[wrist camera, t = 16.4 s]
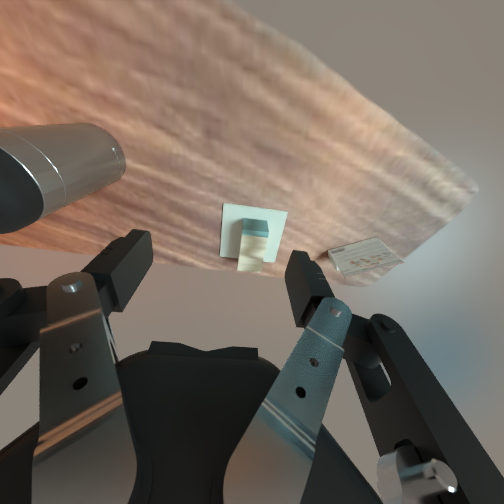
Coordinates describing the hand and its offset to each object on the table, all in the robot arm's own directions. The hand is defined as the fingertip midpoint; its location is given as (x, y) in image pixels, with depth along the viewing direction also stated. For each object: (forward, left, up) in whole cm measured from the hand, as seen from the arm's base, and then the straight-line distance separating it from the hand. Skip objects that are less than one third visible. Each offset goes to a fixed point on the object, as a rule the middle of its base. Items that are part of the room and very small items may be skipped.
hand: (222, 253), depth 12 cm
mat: (+4, -15, -29) cm, 33 cm away
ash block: (+5, -21, -26) cm, 34 cm away
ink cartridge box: (+28, -15, -29) cm, 43 cm away
